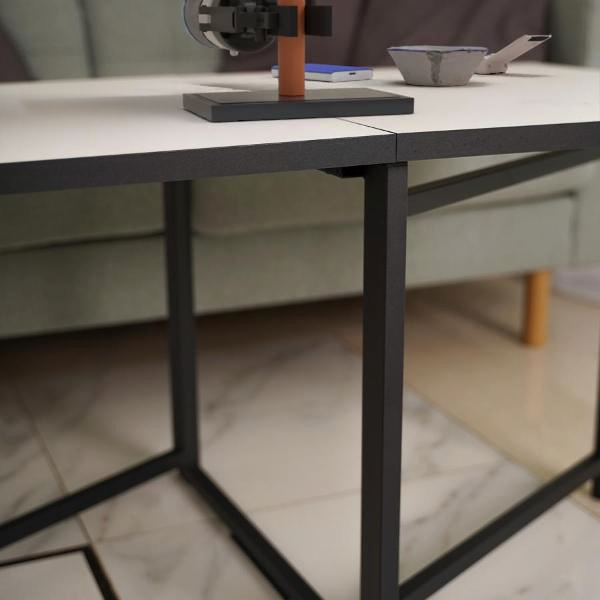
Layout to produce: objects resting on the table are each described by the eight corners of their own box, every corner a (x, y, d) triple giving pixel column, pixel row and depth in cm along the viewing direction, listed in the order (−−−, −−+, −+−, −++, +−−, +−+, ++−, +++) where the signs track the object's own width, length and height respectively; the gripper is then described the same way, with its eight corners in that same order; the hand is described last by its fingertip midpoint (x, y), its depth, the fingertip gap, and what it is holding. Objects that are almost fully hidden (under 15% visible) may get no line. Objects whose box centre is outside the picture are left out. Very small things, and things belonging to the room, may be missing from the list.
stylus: (283, 96, 88) (282, -37, 84) (274, 93, 90) (273, -36, 86) (308, 95, 89) (308, -36, 85) (299, 93, 91) (299, -35, 87)
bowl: (504, 83, 121) (507, 45, 119) (451, 90, 112) (453, 49, 110) (423, 77, 129) (425, 42, 127) (367, 84, 120) (368, 45, 118)
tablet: (211, 122, 81) (211, 104, 81) (183, 108, 92) (182, 92, 92) (414, 113, 88) (414, 97, 87) (364, 101, 98) (365, 86, 98)
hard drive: (271, 65, 131) (331, 70, 122) (312, 63, 136) (373, 67, 127) (271, 76, 131) (331, 82, 122) (312, 73, 136) (373, 79, 128)
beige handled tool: (528, 34, 127) (403, 29, 146) (524, 78, 129) (401, 67, 148) (555, 34, 131) (430, 29, 149) (551, 76, 133) (428, 66, 151)
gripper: (305, 50, 107) (389, 62, 86) (173, 53, 102) (228, 66, 81) (305, -18, 105) (391, -23, 83) (170, -18, 100) (226, -24, 79)
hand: (311, 21), depth 82 cm, fingers closed on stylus, 3 cm apart
